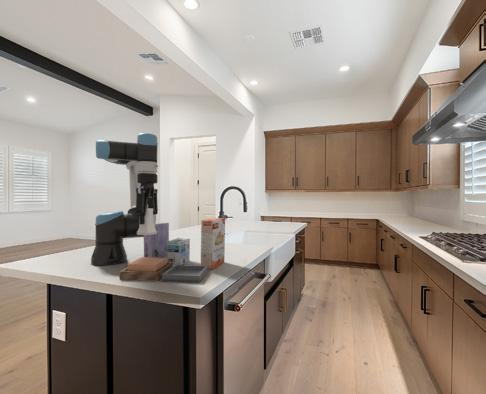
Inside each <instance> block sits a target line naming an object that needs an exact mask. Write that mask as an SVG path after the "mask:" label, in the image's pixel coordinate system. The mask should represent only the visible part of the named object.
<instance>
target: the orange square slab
mask: <svg viewBox="0 0 486 394" xmlns="http://www.w3.org/2000/svg"><path fill="white" fill-rule="evenodd" d="M166 264H167V258H149V257H144V256H141V257H139V258H137V259H135V260H133V261H131V262H129V263H127V267H128V271H154V272H156V271H157V270H159V269H160V268H162V267H163V266H165V265H166Z"/></svg>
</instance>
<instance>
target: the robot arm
mask: <svg viewBox="0 0 486 394" xmlns="http://www.w3.org/2000/svg"><path fill="white" fill-rule="evenodd" d="M158 144H159V143H158V136H157V135H155V134H153V133H147V132H145V133H144V132H143V133H139V134H137V141H136V142H126V141H117V140H115V141H114V140H106V139H98V140H96V141H95V157H96V158H97V159H99V160H104V161H106V162H108V163H111V164H115V165H123V166H125V167H126V169H127V170H128V171H129V174H128V175H129V195H130V196H129V197H130V198H129V199H130V208H129V209H128V210H127V213H124V211H123V210H117V211H109V212H104V213H99V214H97V215H96V217H95V224H94V226H95V243H94V244H95V247H94V249H93V252H92V254H91V258H90V263H91V264H92V265H95V266H109V265H117V264H121V263H124V262H126V261H127V260H128V255H127V251H126V249H125V246H124V239H131V238H132V239H133V238H144V235H137V231H138V229H139V233H147V216H145V215H146V210H147V208H153V222H154V226H155V224H157V223H156V222H157V215H158V210H159V209H158V189H157V188H155V185H154V184H157V183H158V174H157V173H158V167H159V165H158Z"/></svg>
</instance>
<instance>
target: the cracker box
mask: <svg viewBox="0 0 486 394" xmlns="http://www.w3.org/2000/svg"><path fill="white" fill-rule="evenodd" d="M200 222H201V223H200V225H201V226H200V227H201V228H200V265H202V266H208V270H213V269H215V268H217V267H219V266H220V265H222V264H224V263H225V253H226V252H225V250H226V249H225V245H226V244H225V243H226V241H225V240H226V218H225V217H224V218H223V217H214V218H213V217H211V218H207V219H202V220H201V221H200Z"/></svg>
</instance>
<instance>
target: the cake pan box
mask: <svg viewBox="0 0 486 394" xmlns="http://www.w3.org/2000/svg"><path fill="white" fill-rule="evenodd" d="M169 226H170V223H169V222H160V223H155V229H156V231H157V234H152V235H144V237H143V257H149V258H168V241H170V232H169V231H170V229H169V228H170V227H169Z"/></svg>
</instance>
